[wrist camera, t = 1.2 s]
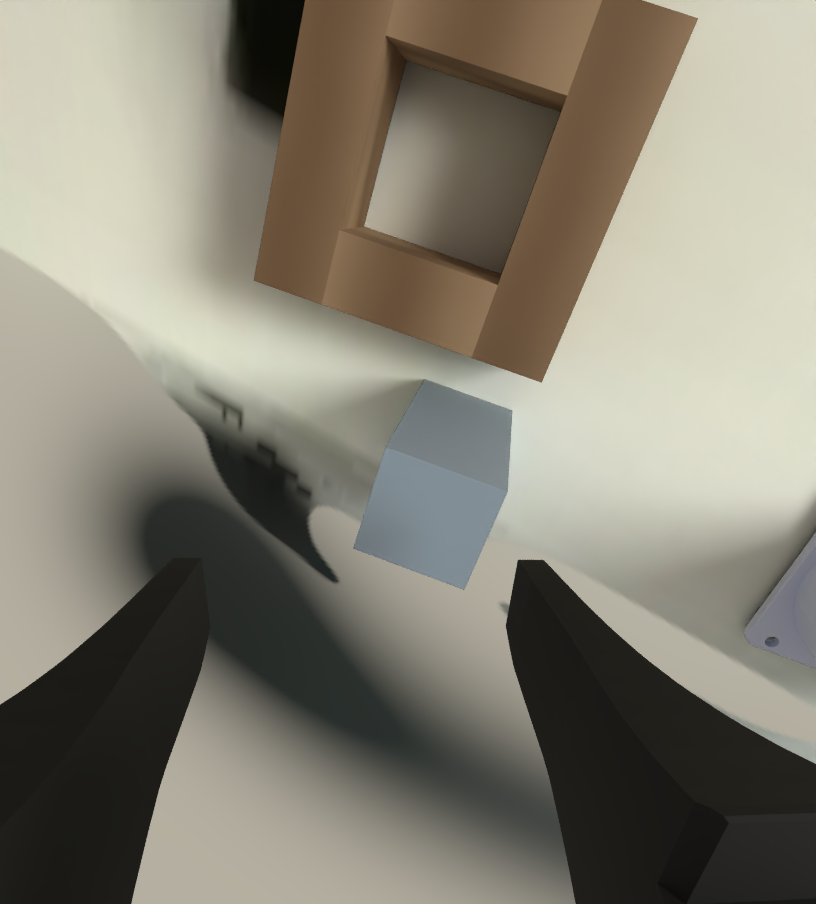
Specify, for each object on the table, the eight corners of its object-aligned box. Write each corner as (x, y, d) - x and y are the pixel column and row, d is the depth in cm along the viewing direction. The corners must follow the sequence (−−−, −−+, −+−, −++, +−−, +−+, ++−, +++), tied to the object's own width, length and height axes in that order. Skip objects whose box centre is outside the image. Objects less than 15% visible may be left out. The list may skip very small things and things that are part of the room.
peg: (512, 410, 22) (507, 491, 16) (480, 488, 24) (464, 589, 18) (424, 379, 23) (385, 446, 16) (398, 458, 24) (353, 548, 18)
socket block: (670, 47, 17) (698, 18, 14) (539, 359, 21) (541, 382, 19) (354, -55, 18) (324, -103, 15) (287, 271, 22) (253, 280, 19)
